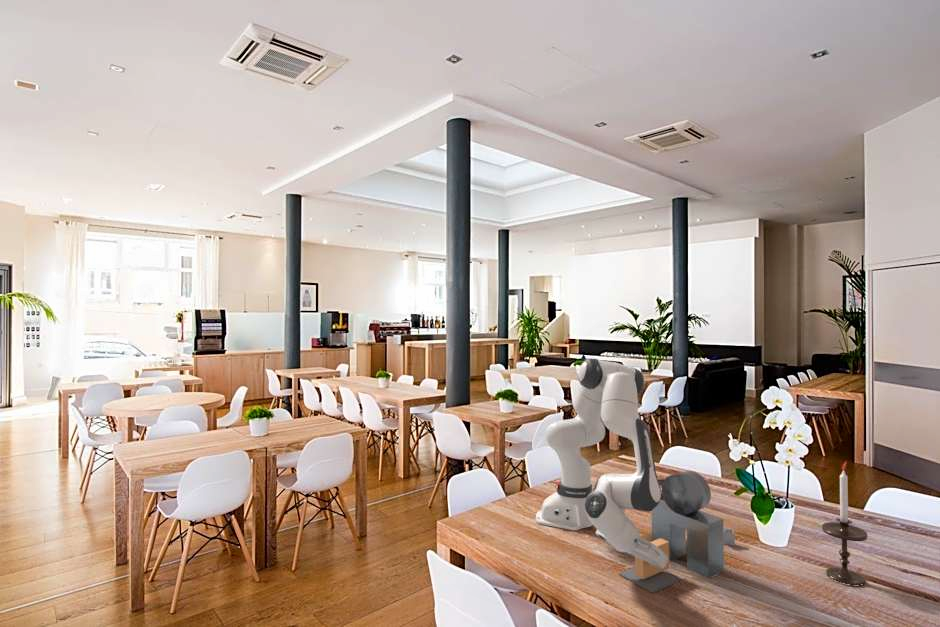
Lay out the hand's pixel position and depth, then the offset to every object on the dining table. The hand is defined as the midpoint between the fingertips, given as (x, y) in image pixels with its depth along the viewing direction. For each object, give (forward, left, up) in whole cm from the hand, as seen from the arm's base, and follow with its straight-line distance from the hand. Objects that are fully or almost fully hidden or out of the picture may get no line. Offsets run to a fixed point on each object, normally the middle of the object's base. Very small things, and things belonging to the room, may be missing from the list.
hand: (645, 559), depth 151 cm
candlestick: (+57, +17, -6) cm, 59 cm away
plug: (+2, +2, -4) cm, 5 cm away
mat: (+1, +1, -6) cm, 6 cm away
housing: (+13, +15, -6) cm, 21 cm away
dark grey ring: (+13, +81, -6) cm, 82 cm away
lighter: (+27, +33, -6) cm, 43 cm away
